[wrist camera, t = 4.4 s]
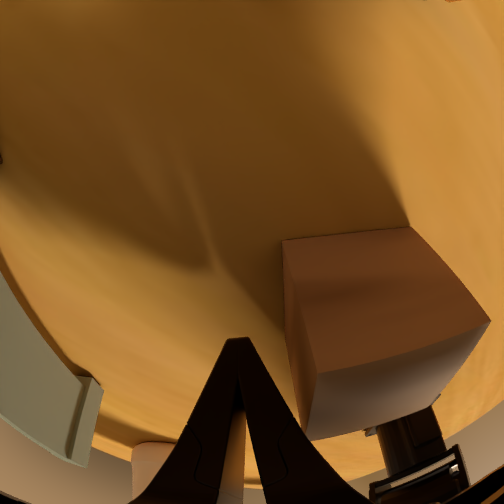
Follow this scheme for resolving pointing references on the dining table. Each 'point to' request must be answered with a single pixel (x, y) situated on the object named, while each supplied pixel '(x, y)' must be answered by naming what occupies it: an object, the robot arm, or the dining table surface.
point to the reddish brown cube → (372, 327)
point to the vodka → (147, 463)
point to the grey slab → (43, 388)
